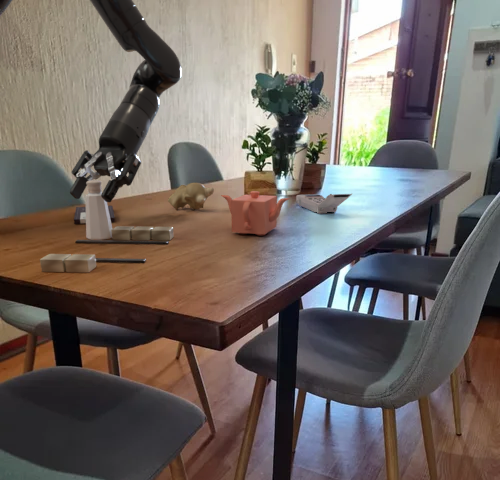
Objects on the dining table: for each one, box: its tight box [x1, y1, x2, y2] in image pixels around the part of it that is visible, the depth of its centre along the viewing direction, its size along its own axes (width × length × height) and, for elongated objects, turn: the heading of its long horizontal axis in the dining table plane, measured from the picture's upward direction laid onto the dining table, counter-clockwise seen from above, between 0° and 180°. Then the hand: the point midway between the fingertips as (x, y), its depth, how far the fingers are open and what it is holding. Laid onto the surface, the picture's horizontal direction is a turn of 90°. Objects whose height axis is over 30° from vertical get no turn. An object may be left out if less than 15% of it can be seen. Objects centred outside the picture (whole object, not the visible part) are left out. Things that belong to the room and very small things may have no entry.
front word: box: [39, 253, 147, 273], centre depth 82 cm, size 15×7×2 cm, turn 86°
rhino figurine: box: [167, 182, 215, 211], centre depth 132 cm, size 8×7×12 cm
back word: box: [75, 225, 175, 245], centre depth 100 cm, size 18×7×2 cm, turn 86°
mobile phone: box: [295, 193, 353, 215], centre depth 131 cm, size 6×6×25 cm
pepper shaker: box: [85, 179, 113, 240], centre depth 101 cm, size 5×5×11 cm
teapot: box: [220, 190, 291, 237], centre depth 106 cm, size 12×15×8 cm
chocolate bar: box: [73, 205, 116, 225], centre depth 124 cm, size 9×1×18 cm
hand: (89, 198), depth 98 cm, fingers open, 8 cm apart
